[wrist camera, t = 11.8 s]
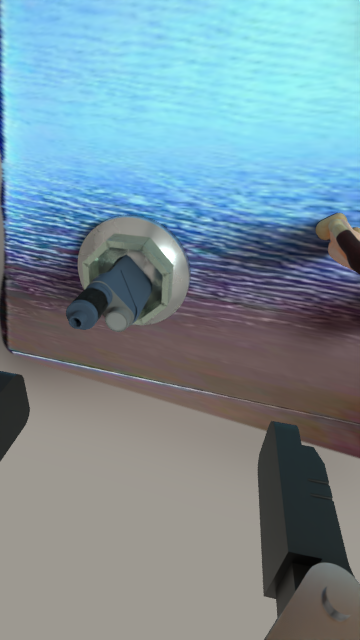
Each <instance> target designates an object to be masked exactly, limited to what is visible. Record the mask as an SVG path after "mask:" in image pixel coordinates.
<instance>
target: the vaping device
mask: <svg viewBox="0 0 360 640" xmlns="http://www.w3.org/2000/svg"><path fill="white" fill-rule="evenodd" d="M151 293H152V282H151V281H150V279H149V278H148V277H147V276H146V275H145V274H144V272H143V271H142V270H141V269H140V268H139V267H138V266H137V264H136V263H135V262H134V261H133V260H132V259H131V258H130V257H129V256H128V255H125V256H122V257H120V258H118V259H117V260H116V261H115V263H114V265H113V266H112V267H111V268H110V269H109V270H108V271H107V272H106V273H102V274H100V275H98V276H96V277H95V278H94V279H93V280H92V282H91V283H90V284H89V285H88V286H87V287H86V289H85V290H84V291H83V292H82V293H81V294H80V295H79V296H78V297H77V298H76V299H75V300H74V301H73V302H72V303H71V304H70V305H69V306H68V308H67V310H66V316H67V319H68V321H69V324H70V325H71V326H72V327H73V328H75V329H82V330H86V329H90V328H92V327H93V326H94V324H95V323H96V322H97V320H98V319H99V318H100V317H101V315H102V314H103V315H104V316H105V317H106V318H105V322H106V324H107V326H108V327H109V328H110V329H111V330H113V331H116V332H121V331H124V330H125V329H126V328H127V327H129V326H130V325H132V324H133V323H134V322H135V321H136V320H137V319H138V317H139V315H140V313H141V311H142V309H143V308H144V306H145V304H146V302H147V300H148V298H149V297H150V295H151Z"/></svg>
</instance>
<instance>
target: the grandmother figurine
mask: <svg viewBox="0 0 360 640" xmlns="http://www.w3.org/2000/svg"><path fill="white" fill-rule="evenodd" d="M316 234H317V235H318V237H319V238H320V239H322V240H329V239H330V240H331V242H330V244H329V246H328V253H329V255H330V256H331V257H332V258H333V259H334V260H335V261H336V262H338V263H339V264H341V265H343V266H345V267H348V268H350V269H352V270H354V271H356V272H357V273H359V274H360V228H358V227H355V228H352V227H351V226H350V224H349V223H348V222H347V218H346V217H345V215H344V214H342V213H337V214H334V215H332V216H330V217H328V218H326V219H324V220H322V221H320V222H319V223H318V225H317V226H316Z"/></svg>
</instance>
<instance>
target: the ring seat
mask: <svg viewBox="0 0 360 640" xmlns="http://www.w3.org/2000/svg"><path fill="white" fill-rule="evenodd" d="M125 255H128V256H129V257H130V258H131V259H132V260H133V261H134V262H135V263H136V264H137V266H138V267H139V268H140V269H141V270H142V271H143V272H144V274H145V275H146V276H147V277H148V278H149V279H150V281H151V282H152V293H151V295H150V297H149V298H148V300H147V302H146V304H145V306H144V308H143V309H142V311H141V313H140V315H139V317H138V319H137V320H136V321H135V322H134V323H133V324H132V325H148V324H154V323H157V322H160V321H162V320H164V319H166V318H168V317H169V316H171V315H172V314H173V313H174V312H175V311H176V310H177V309H178V308H179V307H180V305H181V304H182V303H183V301H184V299H185V297H186V294H187V291H188V287H189V284H190V264H189V260H188V256H187V254H186V251H185V249H184V248H183V246H182V244H181V243H180V241H179V240H178V238H177V237H176V236H175V235H174V234H173V233H172V232H171V231H170V230H169V229H167V228H166V227H165V226H164V225H162V224H160V223H159V222H157V221H155V220H153V219H150V218H147V217H144V216H139V215H120V216H116V217H113V218H110V219H108V220H106V221H104V222H103V223H101V224H99V225H98V226H96V227H95V228H94V229H93V230H92V231H91V232H90V233H89V234H88V235H87V236H86V238H85V240H84V241H83V243H82V245H81V248H80V251H79V255H78V273H79V278H80V281H81V284H82V286H83V289H84V290H85V289H86V287H87V286H88V285H89V284H90V283H91V282H92V280H93V279H94V278H95V277H96V276H98V275H100V274H102V273H106V272H107V271H108V270H109V269H110V268H111V267H112V266H113V265H114V263H115V261H116V260H117V259H118V258H120V257H122V256H125Z"/></svg>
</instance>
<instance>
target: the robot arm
mask: <svg viewBox="0 0 360 640" xmlns="http://www.w3.org/2000/svg"><path fill="white" fill-rule="evenodd" d="M29 412H30V407H29V402H28V398H27V392H26V387H25V383H24V378H23V377H22V375H19V374H13V373H8V372H3V371H0V461H1V460H2V458H3V457H4V455H5V454H6V452H7V451H8V449H9V448H10V447H11V445H12V444H13V442H14V441H15V439H16V438H17V436H18V435H19V434H20V432H21V430H22V429H23V428H24V426H25V425H26V423H27V420H28V417H29ZM328 484H329V481H328V477H327V473H326V468H325V464H324V463H323V461H322V460H321V458H320V457H319V455H318V453H317V452H316V450H315V449H314V447H310V446H304V445H301V440H300V434H299V429H298V427H297V426H296V425H291V424H285V423H280V422H274V421H271V423H270V425H269V427H268V430H267V433H266V436H265V440H264V442H263V445H262V448H261V451H260V454H259V460H258V487H259V506H260V507H259V508H260V527H261V549H262V568H263V589H264V596H266V597H270V598H274V599H276V603H277V616H278V618H277V620H276V621H275V623H274V625H273V626H272V628H271V629H270V631H269V633H268V634H267V636H266V637H265V639H264V640H360V584H359V582H358V581H357V580H356V579H355V577H354V575H353V573H352V571H351V569H350V566H349V563H348V559H347V555H346V552H345V547H344V543H343V539H342V535H341V530H340V526H339V522H338V518H337V514H336V510H335V506H334V502H333V501H332V493H331V489H330V486H329V485H328Z"/></svg>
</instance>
